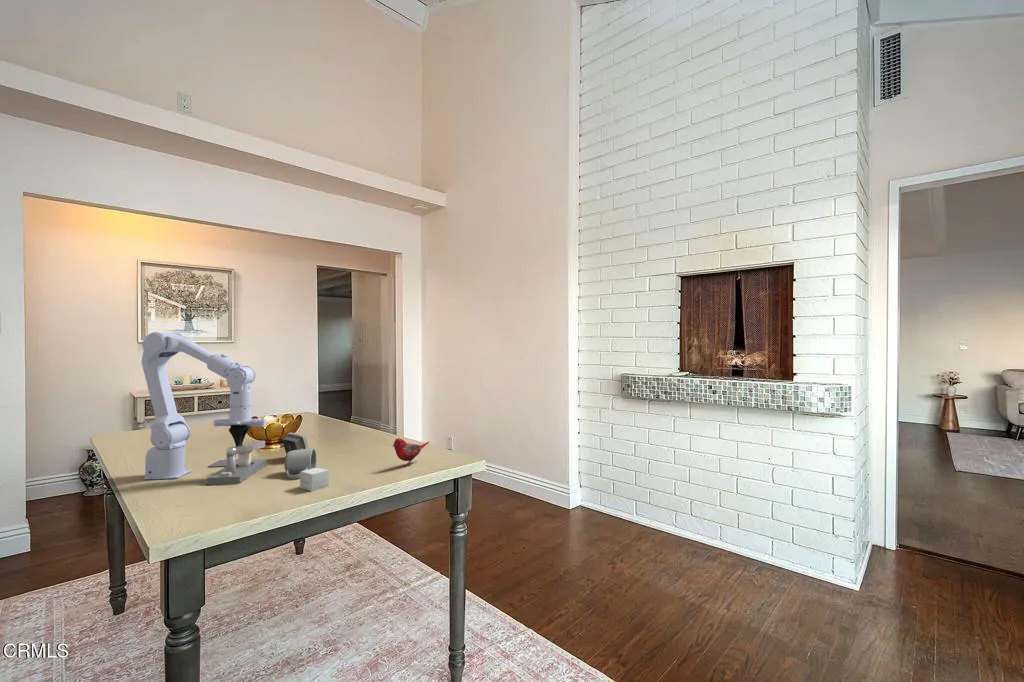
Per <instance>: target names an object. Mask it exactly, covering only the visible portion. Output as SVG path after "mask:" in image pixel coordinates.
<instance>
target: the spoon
mask: <svg viewBox="0 0 1024 682" xmlns="http://www.w3.org/2000/svg"><path fill="white" fill-rule="evenodd" d="M263 448H266V440H257V441H253V442H248V443H243V444H242V445H239V446H236V445H235V446H230V447H226V448H225V451H226V452H225V453H226V454H225V455H226V457H227V456H231V455H236V456H237V455H238V453H243V452H247V451H251V450H253V451H255V450H259V449H263Z"/></svg>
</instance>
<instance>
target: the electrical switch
mask: <svg viewBox="0 0 1024 682" xmlns="http://www.w3.org/2000/svg"><path fill="white" fill-rule="evenodd" d="M281 441H282V444H283V448H284V451H285V455H286V454H287V453H288V452H290V451H293V450H302V449H310V448H309V445H308V442H307V438H306V435H304V434H301V433H295V432H288V433H287V435H286V436H285V437H283V438H281Z"/></svg>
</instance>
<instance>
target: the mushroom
mask: <svg viewBox="0 0 1024 682" xmlns="http://www.w3.org/2000/svg"><path fill="white" fill-rule="evenodd" d="M253 451H254V450H251V451H247V452H243V453H238V454H237V460H238V467H243V466H250V465H251V460H252V452H253Z"/></svg>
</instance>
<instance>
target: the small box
mask: <svg viewBox="0 0 1024 682" xmlns="http://www.w3.org/2000/svg"><path fill="white" fill-rule="evenodd" d="M299 480H300V481H299V484H300V485H299V489H302V490H305V489H306V491H309V492H315V490H316V491H319V490H322V489H325V487H326V488H328V487H330V469H329V470H328V469H325V468H320V467H316V468H312V469H309V470H304V471H301V472H300V478H299ZM321 488H322V489H321ZM318 489H319V490H318Z"/></svg>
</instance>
